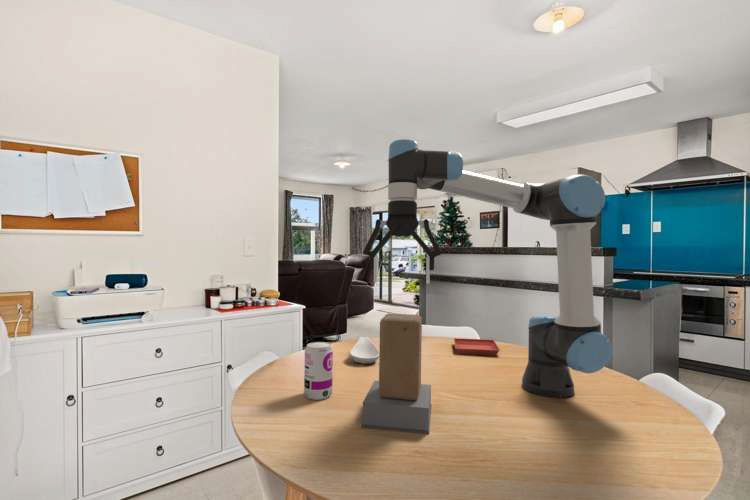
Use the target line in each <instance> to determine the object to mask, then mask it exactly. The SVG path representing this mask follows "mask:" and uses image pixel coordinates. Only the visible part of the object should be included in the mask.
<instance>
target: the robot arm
mask: <svg viewBox="0 0 750 500" xmlns="http://www.w3.org/2000/svg"><path fill="white" fill-rule="evenodd" d="M387 161H388V184H387V186H388V187H387V199H388V200H389V202H388V203H387V219H386V220H382V219H381V220H380V219H376V220H375V225H374V229H373V231H372V233H371V235H370V238H369V239H368V241H367V243H366V245H365V247H364V249H363V251H362V252H363V253H362V254H363V255H366V256H368V257H369V268H370V270H373V283H378V282H379V256H377V255H378V254H379V252H380V251H381V250H382V249H383V247H385V246H386V244H387V243H388V242H389V241H390V240H391V239H392V238H393V237H396V238H401V237H404V238H408V237H410V236H412V238H413V239H415V241H416V242H417V243H418V245H419V246H420V247H421V249H423V251H424V253H426V254H427V255H428V257H426V258H425V259H426V261H425V262H426V265H425V266H426V270H425V271H426V275H425V276H426V277H425V279H426V281H425V282H426V285H427V284H430V281H431V280H430V271H434V269H435V258H436V257H439V256H441V255H442V251H441V249H440V247H439V244H438V243H437V240H436V239H435V237H434V235H433V232H432V231H431V228H430V223H429V222H430V221H429V220H428V219H423V220H418V203H417V202H416V200H417V199H418V190H428V189H429V190H434V191H439V192H443V193H448V194H452V195H456V196H460V197H463V198H469V199H473V200H476V201H480V202H485V203H489V204H494V205H498V206H502V207H506V208H510V209H512V210H513V212H515V213H517V214H522V215H526V216H527V217H528V216H529V217H533V218H536V219H539V220H545V221H549V227H550V228H551V229H553V230H554V231H555V235H556V236H555V238H556V258H557V279H558V284H557V285H558V301H559V304H558V305H559V314H558V315H536V316H535V315H533V316H531V317H530V318H529V319H528V320H529V321H528V326H527V327H528V350H527V351H528V361H527V363H526V366H525V369H524V372H523V375H522V379H521V386H522V388H523V389H525V390H526V391H527V392H528V391H529V393H530V392H531V393H532V394H533V393H534V394H536V395H540V396H544V397H550V398H566V397H571V396H573V395H574V394H575V384H574V380H573V378H572V374H571V371H570V368H571V370H573V371H577V372H580V373H583V374H594V373H597V372H599V371H601V370H602V369H604V367H605V365H607V364H608V363H609V361H610V359H611V357H612V354H613V353H612V351H613V350H612V349H613V348H612V343H611V341H610V339H609V338H608V337H607V336H606V335H605V334H603V333H602V325H601V321H600V320H599V319H598V318H597V317H596V316H595V308H594V307H595V306H594V286H593V263H592V260H593V259H592V241H591V229H592V228H594V227H595V226H596V224H597V215H598V214H599V213H601V211H602V209H603V208H604V206H605V203H606V193H605V190H604V188H603V186H602V185H601V183H600V182H599V181H597V180H596V179H595V178H594V177H592V176H590V175H587V174H577V175H576V174H575V175H574V174H573V175H568V176H565V177H563V178H560V179H557V180H553V181H548V182H545V183H544V182H543V183H530V182H526V181H523V182H522V183H516V182H511V181H507V180H503V179H500V178H495V177H492V176H488V175H485V174H484V175H483V174H479V173H475V172H472V171H467V170H464V159H463V156H462V155H461V153H460V152H457V151H450V150H447V151H443V150H442V151H441V150H422V149H419V147H418V143H417V141H415V140H414V139H413V140H411V139H406V138H405V139H404V138H402V139H396V140H394V141H391V143H390V144H389V148H388V159H387ZM385 226H386V227H387V229H388V230H387V231H388V232H387V233H386V234H385V235H384V236H383V238H382V239H381V240H380V241H379V242H378V243H377V244H376V246H375V247H374V248H373V246H374V244H375V242H376V240H377V238H378V237H379V234H380V232H381V229H383V228H384V227H385ZM418 226H420V227H421V229H424V231H425V233H426V235H427V237H428V239H429V241H430V243H431V245H432V247H433V249H434V251H432V250H431V248H429V246H428V245H427V244H426V242H424V240H423V239H422V238H421V237H420V235H419V234H418V233H417V232H416V229H417V228H418ZM372 248H373V250H372Z"/></svg>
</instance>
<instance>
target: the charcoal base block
mask: <svg viewBox="0 0 750 500" xmlns="http://www.w3.org/2000/svg"><path fill="white" fill-rule="evenodd" d="M431 402H432V384H423V383H421V387H420V392H419V396H418V399H417V400H404V399H393V398H382V397H380V395H379V380H373V383H372V384H371V386H370V388H369V390H368V392H367V394H366V395H365V397H364V399H363V401H362V417H361V418H362V420H361V421H362V423H361V427H360V428H365V429H375V430H386V431H387V430H388V431H396V432H405V433H406V432H407V433H416V434H418V433H419V434H426V435H429V434H430V428H431V427H430V426H431V414H432V403H431Z"/></svg>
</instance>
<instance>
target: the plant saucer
mask: <svg viewBox="0 0 750 500" xmlns="http://www.w3.org/2000/svg"><path fill="white" fill-rule="evenodd" d="M453 343H454V344H453V345H454V348H455V350H456V352H457V353H458V354H459V353H460V354H459V355H472V354H475V355H474V356H489V357H490V356H493V357H494V356H496V355H497V354H498V353H499V352H500V348H499V346H498V345H497V343H496V341H495V340H494V339H480V338H458V337H457V338H456V337H455V338H453Z"/></svg>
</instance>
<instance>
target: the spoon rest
mask: <svg viewBox="0 0 750 500" xmlns="http://www.w3.org/2000/svg"><path fill="white" fill-rule="evenodd" d="M349 356H350V357H351V359H352V360H353V361H354V362H356V363H357V364H361V365H369V364H372V363H374V362H376V361H378V359H379V348H378V347H377V346H376V345H375V343H373V341H372V340H371V339H370V338H369V336H365V337H363V336H359V339H358V340H357V342H356V343H355V344H354V345H353V347H352V348H351V349H350V351H349Z"/></svg>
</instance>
